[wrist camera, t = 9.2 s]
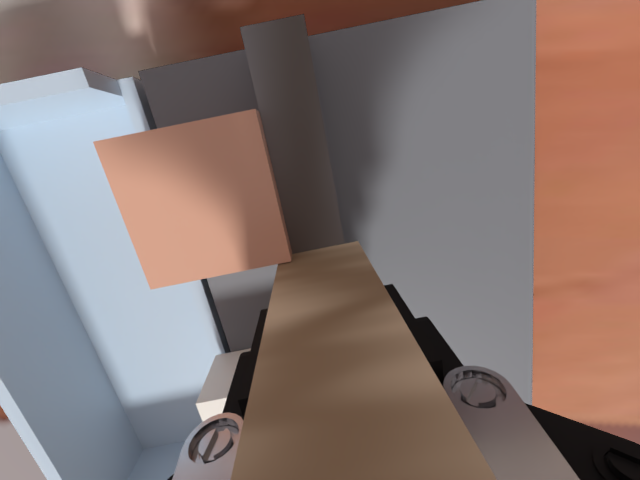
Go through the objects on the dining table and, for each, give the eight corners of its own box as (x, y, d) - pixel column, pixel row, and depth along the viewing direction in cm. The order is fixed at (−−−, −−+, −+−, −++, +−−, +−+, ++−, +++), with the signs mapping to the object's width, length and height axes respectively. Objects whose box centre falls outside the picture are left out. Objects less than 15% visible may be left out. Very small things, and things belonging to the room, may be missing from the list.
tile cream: (316, 335, 15) (319, 379, 12) (334, 414, 17) (340, 469, 14) (215, 355, 15) (195, 403, 12) (242, 432, 17) (230, 492, 14)
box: (155, 86, 14) (78, 55, 9) (264, 426, 20) (251, 516, 15) (-19, 122, 14) (-186, 109, 9) (141, 450, 20) (89, 547, 15)
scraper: (317, 33, 11) (480, -1313, 1) (386, 442, 17) (518, 909, 7) (237, 50, 11) (-542, -1092, 1) (333, 453, 17) (380, 934, 7)
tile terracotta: (266, 117, 12) (255, 108, 9) (293, 237, 14) (291, 261, 11) (141, 143, 12) (93, 141, 9) (182, 259, 14) (150, 289, 11)
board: (496, 16, 14) (536, -11, 11) (504, 378, 20) (531, 411, 17) (166, 84, 14) (138, 71, 12) (272, 424, 20) (267, 463, 17)
